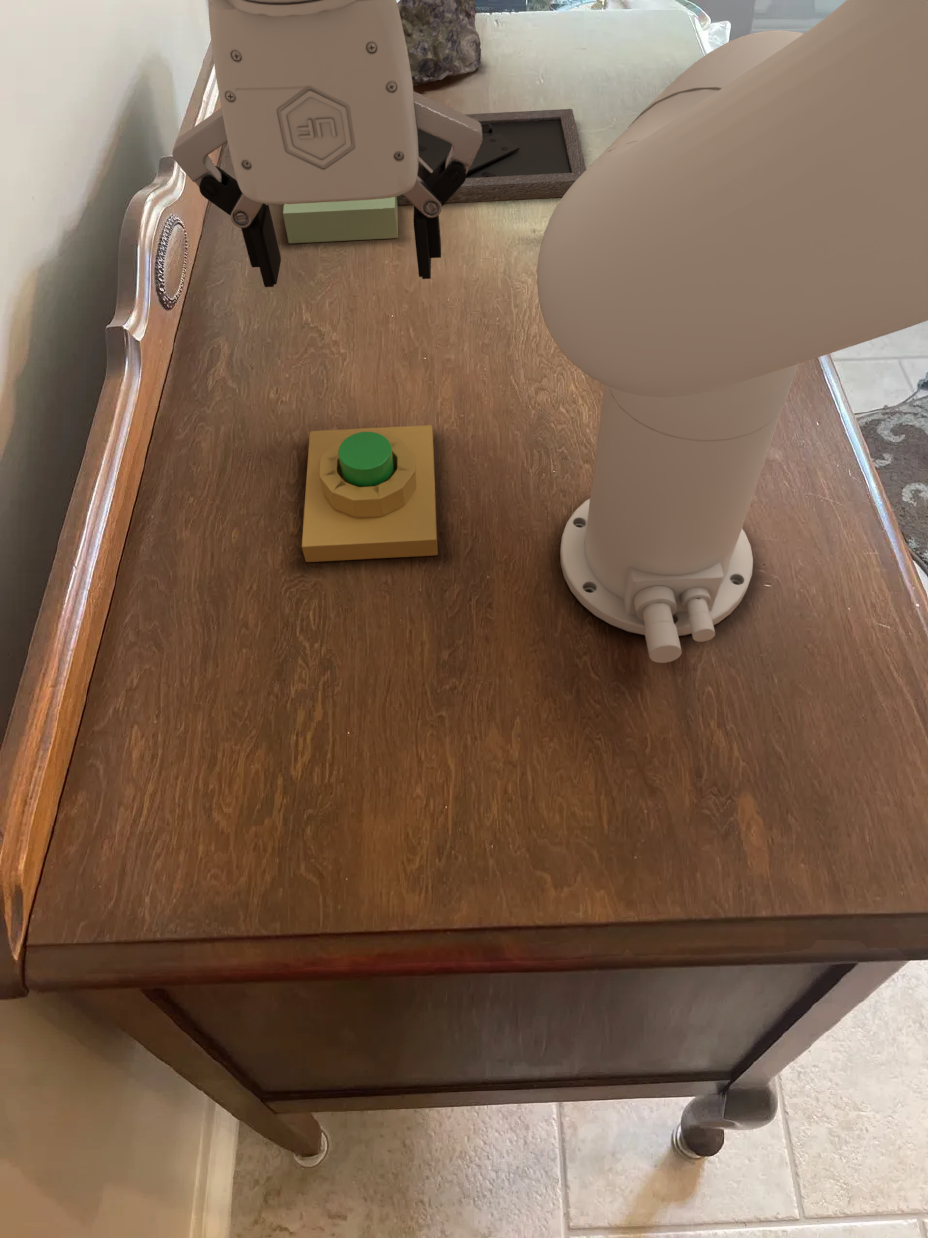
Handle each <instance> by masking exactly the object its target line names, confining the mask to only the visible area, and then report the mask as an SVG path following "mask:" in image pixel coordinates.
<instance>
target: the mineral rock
mask: <svg viewBox="0 0 928 1238" xmlns="http://www.w3.org/2000/svg"><path fill="white" fill-rule="evenodd" d="M397 5H398V9H399V13H400V17H401V22H402V27H403V32H404V36H405V41H406V47H407V52H408V58H409V64H410V70H411V77H412V83H413V87H415V86H418V85H421V84H427V83H430V82H436V81H439V80H440V81H442V80H443V79H445V78H446V77H447V78H450V77H453V76H459V75H464V74H467V73H473V72H475V71H476V70H477V69H480V67H481V62H482V61H481V59H482V49H481V44H482V43H481V42H482V41H481V39H480V34H479V33H478V31H477V28H476V15H477V12H478V10H477V6H476V1H475V0H398V1H397Z"/></svg>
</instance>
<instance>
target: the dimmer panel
mask: <svg viewBox="0 0 928 1238" xmlns="http://www.w3.org/2000/svg"><path fill="white" fill-rule="evenodd" d="M398 206H399V205H398V202H397V196H396V197H391V198H384V199H372V200H356V201H339V202H320V203H301V204H283V207H282V216H283V221H284V226H285V233H286V236H287V241H288V244H308V243H327V242H345V241H347V242H348V241H364V240H365V241H366V240H367V241H368V240H387V239H398V238H399V212H398V211H399V209H398V208H399V207H398Z"/></svg>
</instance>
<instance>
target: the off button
mask: <svg viewBox="0 0 928 1238" xmlns="http://www.w3.org/2000/svg"><path fill="white" fill-rule="evenodd" d="M338 455H339V460H340V466H341V471H342V475H343V477H344V478H345V479H346V480H347V481H348V482H349V483H351V484H353V485H355V486H359V487H372V486H376V485H379V484H381V483H383V482H385V481H386V480H387V479H388V478H389V477H390V476H391V474H392V472H393V469H394V463H393V455H392V447H391V444H390V442H389V441H388V439H387V438H385V437H384V436H383V435H381V434H378V433H375V432H360V433H356V434H353V435H351V436H349V437H348V438H346V439H345V440H344V441H343V442H342V443H341V445H340V447H339V451H338Z"/></svg>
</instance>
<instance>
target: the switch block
mask: <svg viewBox="0 0 928 1238" xmlns="http://www.w3.org/2000/svg"><path fill="white" fill-rule="evenodd" d="M360 432H375V433H378V434H381V435H383V436H384V437H385V438H387V439H388V441H389V442H390V444H391V447H392V455H393V463H394V469H393V472H392V474H391V476H390V477H389V478H388V479H387V480H386V481H385V482H383V483H381V484H379V485H376V486H372V487H359V486H355V485H353V484H351V483H349V482H348V481H347V480H346V479H345V478H344V477H343V475H342V471H341V466H340V460H339V455H338V451H339V447H340V445H341V443H342V442H343V441H344V440H345V439H346V438H348V437H349V436H351V435H353V434H356V433H360ZM433 432H434V431H433V424H426V425H425V424H424V425H423V424H421V425H406V426H405V425H404V426H388V427H387V426H385V427H366V428H365V427H363V428H349V429H348V428H345V429H327V430H310V431H309V435H308V437H309V438H308V451H307V467H306V481H305V492H304V495H305V496H304V506H303V507H304V508H303V521H302V537H301V549H302V554H303V556H304V560H305V563H316V562H317V563H318V562H335V561H353V560H371V559H372V560H375V559H392V558H393V559H394V558H395V559H396V558H410V557H411V558H412V557H432V556H433V557H434V556H438V554H439V552H438V526H437V524H438V523H437V501H436V500H437V499H436V475H435V452H434V451H435V448H434V435H433Z"/></svg>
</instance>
